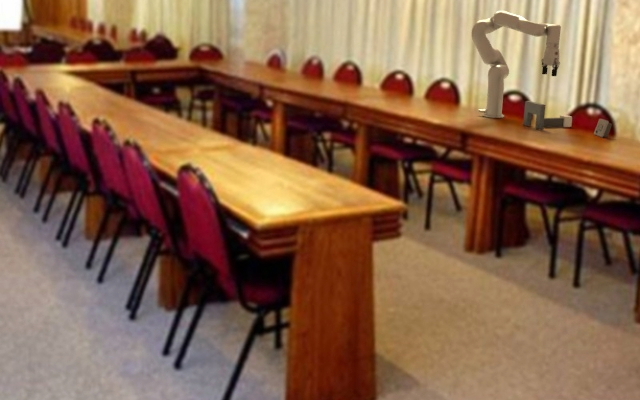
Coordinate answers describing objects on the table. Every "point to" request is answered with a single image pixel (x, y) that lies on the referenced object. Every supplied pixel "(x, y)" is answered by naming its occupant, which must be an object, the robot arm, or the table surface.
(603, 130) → the electrical switch
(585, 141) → the table surface
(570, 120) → the plug
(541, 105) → the grey arch block
